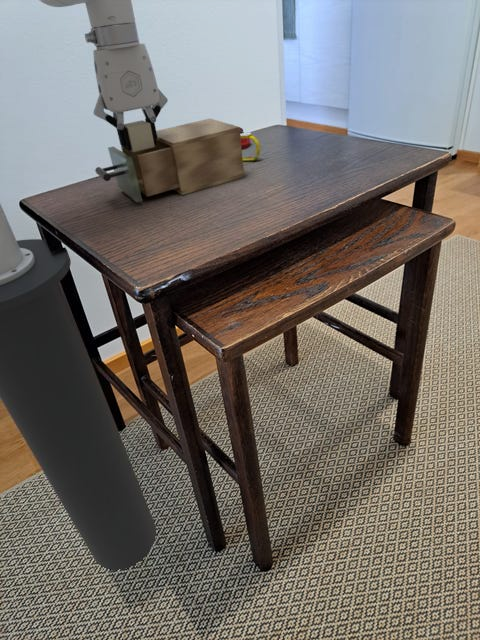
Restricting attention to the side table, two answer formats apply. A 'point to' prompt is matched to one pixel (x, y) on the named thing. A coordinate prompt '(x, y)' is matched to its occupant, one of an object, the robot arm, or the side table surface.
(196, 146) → the cabinet
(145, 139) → the block
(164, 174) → the drawer
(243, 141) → the tracker holder
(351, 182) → the side table surface
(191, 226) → the side table surface
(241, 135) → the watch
